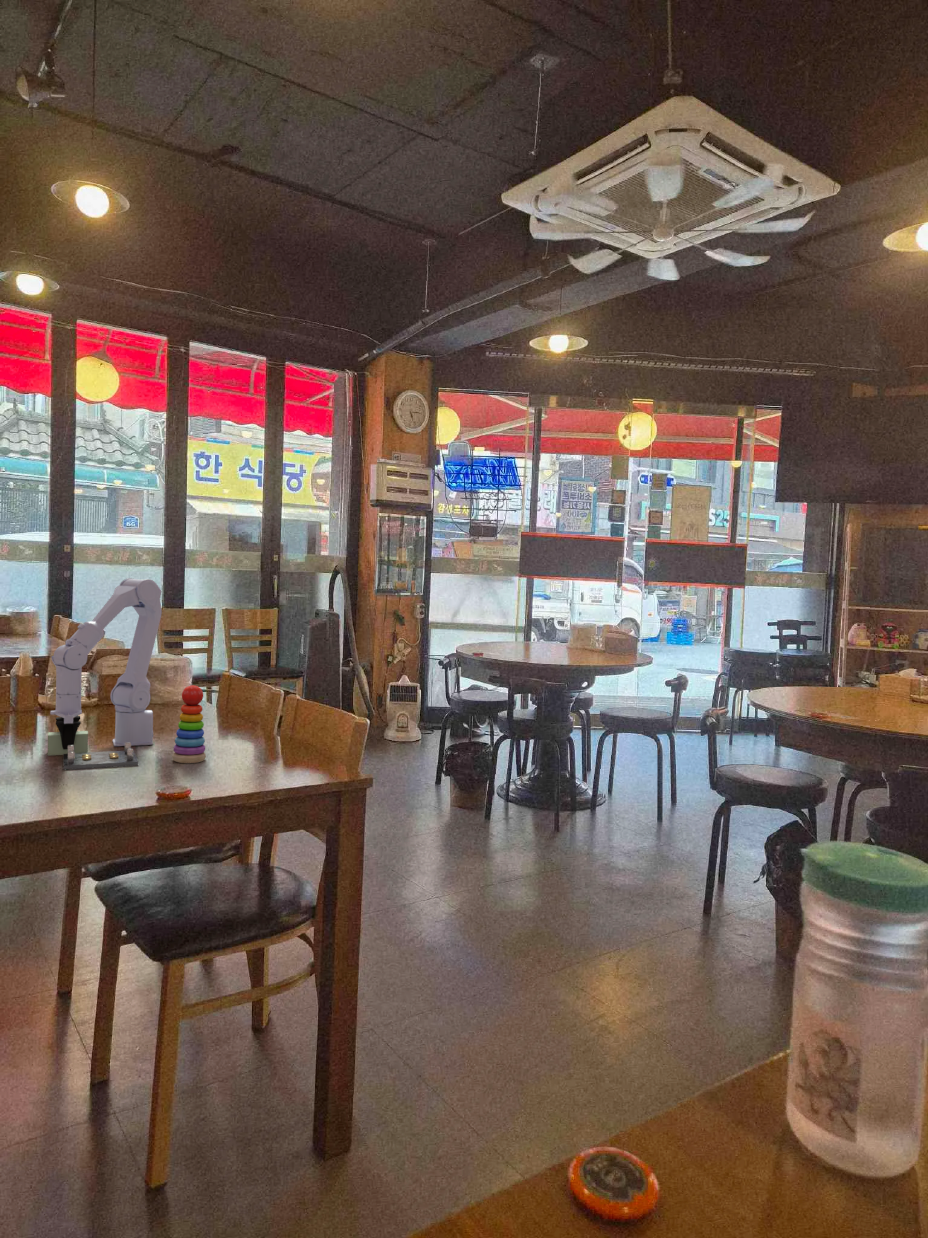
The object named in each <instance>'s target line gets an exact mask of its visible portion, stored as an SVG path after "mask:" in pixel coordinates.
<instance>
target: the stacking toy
mask: <svg viewBox="0 0 928 1238" xmlns="http://www.w3.org/2000/svg"><path fill="white" fill-rule="evenodd" d="M203 698H204V692H203V690H202V688H201V687H200V686H198V685H191V684H190V685H188V686H186V687H185V688H184V689H183V690H182V693H181V700H182V701H183V703H184V704H183V705H181V707H180V710H181V714H180V715H179V720H180V721H179V722H178V729H177V730H176V732H175V733H176V737H175V739H174V743H175V745H174V746H173V752H174V753H172V755H171V756H172V757H171V758H172V760H173V761H174V762H176V763H180V764H196V763H201V762H203V761H205V760H206V757H207V755H206V753H205V751H206V745H205V741H206V739H205V737H204V735H205V730H204V729H203V728H204V726H205V723H204V721H202V720H203V719H204V715H203V714H202V711H203V706H202V705H201V704H200V703H201V702H202V701H203Z"/></svg>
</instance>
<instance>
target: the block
mask: <svg viewBox="0 0 928 1238" xmlns="http://www.w3.org/2000/svg"><path fill="white" fill-rule="evenodd" d="M88 742H89V731H88V730H77V732H76V736H75V741H74V752H75V753H88V749H89V746H88V745H89V743H88ZM63 754H68V749H63V747H62V742H61V736H60V732H59V731H51V732H49V731H48V732H47V756H63Z"/></svg>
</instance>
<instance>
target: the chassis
mask: <svg viewBox="0 0 928 1238" xmlns="http://www.w3.org/2000/svg"><path fill="white" fill-rule="evenodd" d="M62 756H63V758H62V760H63V763H62V764H63V766H64V767H63V766H62V767H63V771H66V770H65V769H72V770H87V769H86V768H89V769H104V768H106V769H107V768H120V767H119V766H123V767H137V766H139V760H138V757H137V756H136V753H135V750H134V748H132V746H131V742H126V743H125V746H124V750H112V751H111V750H110V751H93V752H88V753H75V752H74V745H68V754H63V755H62Z"/></svg>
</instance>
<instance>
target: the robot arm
mask: <svg viewBox="0 0 928 1238" xmlns="http://www.w3.org/2000/svg"><path fill="white" fill-rule="evenodd" d="M161 595H162V590H161V588H160V587H159V585H158V584H157V582H156V581H154V580H153V579H149V578H146V579H141V578H140V579H139V578H132V577H131V578H130V577H129V578H128V577H127V578H126V579H124V580H122V581H121V582H120V583H119V585H117V586H116V587H115V588H114V591H113V594H112V595H111V596H110V598H109V599H108V600H107V601H106V602H105V604H104V605H103V606H102V607H101V609H100V610H99V611H98V613H96V615H95V617H94V618H93V619H92V620H90V621H84V622H83V623H79V625H78V626H77V630H76V631H75V632H74V633H73V634H72V636H70V638H67V639H66V640H65V641H64V643H65V644H62V645H60V646H58V647H57V648H56V649H55V650H54V651H53V655H51V661H52V663H53V665H54V666H55V672H56V673H55V675H56V677H55V679H56V681H55V710H50V715H52V716H53V715H55V716H58V717H55V725H56V727H57V729H58V732H60V736H61V742H62V747H63V749H68V745H74V741H75V736H76V732H77V731H79V727H80V725H81V724H82V721H81V716H80V715H82V714H83V710H82V678H83V677H82V676H83V675H82V672H83V671H82V669H83V668H82V667H84V666H85V665H86V663H87V661H88V656H89V653H90V652H92V651H93V650H94V648H95V646H96V645H98V644H99V642H100V641H101V640H102V639H103V638H104V635H105V634H104V632H105V631H104V629H105V628H106V627H107V626H108V625H109V624H110V623H111V622H112V621H113V620H114V619H115V618H116V617H118V615H119V614H120V613H121V612H122V611H123V610H124V609H125V608H129V607H132V608H133V609H134V611H135V612H136V613H137V615H138V619H137V623H136V626H135V631H134V635H133V638H132V643H131V647H130V650H129V654H128V657H127V663H126V667H125V671H124V673H123V674H121V675H120V676H119V677H118V678H117V680H116V684H115V685H114V687H113V688H112V689H111V691H110V701H111V703H112V704H113V705H114V710H115V726H114V728H115V730H114V738H113V739H112V743H113V747H125V743H126V742H131V747H132V746H148V745H150V746H151V745H153V743H154V742H153V738H154V712H153V710H152V709H147V707H149V705H150V702H151V692H150V691H151V686H152V685H151V682H150V680H149V679H148V677H147V674H148V671H149V667H150V663H151V658H152V655H153V651H154V647H155V642H156V638H157V635H158V631H159V627H160V622H161V619H162V612H163V611H162V604H161Z"/></svg>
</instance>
